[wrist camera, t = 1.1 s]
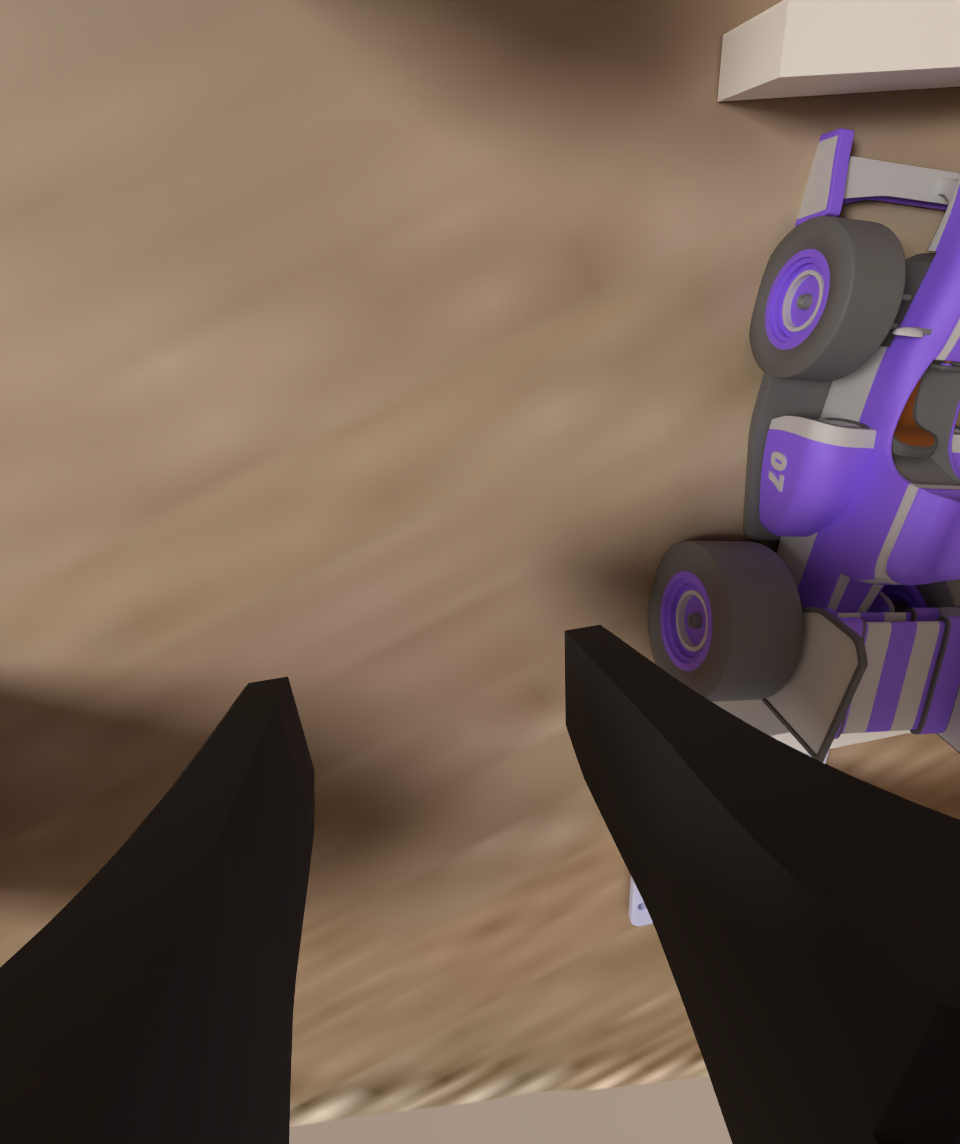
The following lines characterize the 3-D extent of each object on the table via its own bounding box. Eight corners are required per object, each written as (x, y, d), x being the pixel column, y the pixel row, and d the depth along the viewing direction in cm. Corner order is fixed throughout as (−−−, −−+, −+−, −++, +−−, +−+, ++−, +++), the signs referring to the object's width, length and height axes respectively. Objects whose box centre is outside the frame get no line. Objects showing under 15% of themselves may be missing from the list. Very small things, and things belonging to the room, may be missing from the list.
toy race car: (1072, 176, 17) (1432, 143, 11) (865, 637, 24) (1025, 761, 18) (760, 125, 15) (1005, 55, 9) (632, 642, 22) (729, 783, 16)
